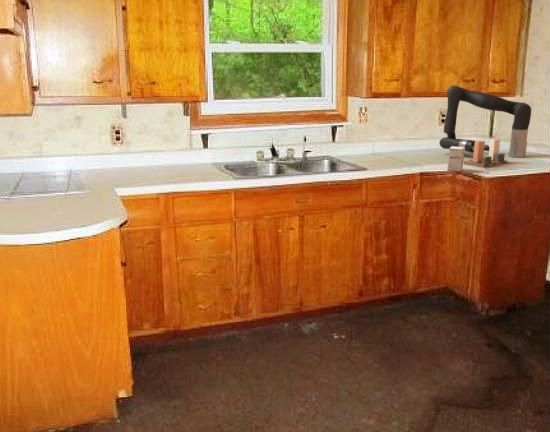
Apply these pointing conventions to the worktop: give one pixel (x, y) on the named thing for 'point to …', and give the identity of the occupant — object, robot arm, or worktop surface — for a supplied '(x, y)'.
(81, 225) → the worktop surface
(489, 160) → the switch bench
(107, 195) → the worktop surface
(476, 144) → the pink tall block
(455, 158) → the supplement box
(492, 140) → the key white
